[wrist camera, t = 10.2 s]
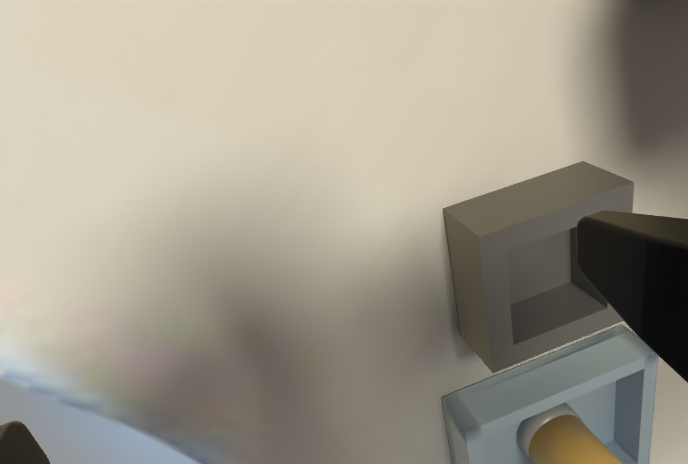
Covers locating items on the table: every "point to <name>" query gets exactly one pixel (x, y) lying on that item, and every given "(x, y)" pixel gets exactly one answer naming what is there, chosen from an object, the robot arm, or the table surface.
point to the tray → (561, 400)
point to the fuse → (561, 439)
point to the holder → (529, 263)
